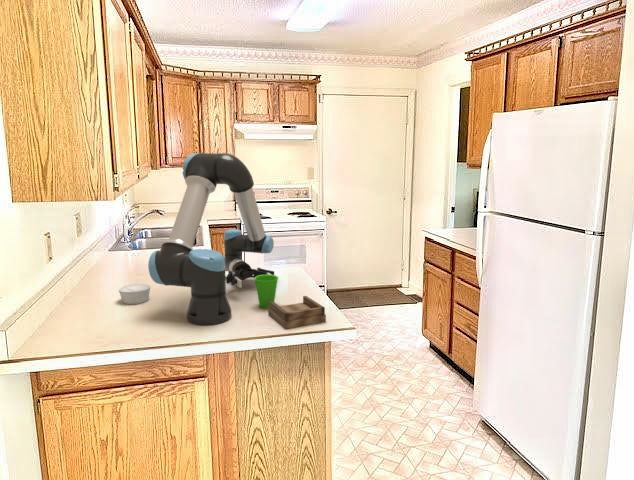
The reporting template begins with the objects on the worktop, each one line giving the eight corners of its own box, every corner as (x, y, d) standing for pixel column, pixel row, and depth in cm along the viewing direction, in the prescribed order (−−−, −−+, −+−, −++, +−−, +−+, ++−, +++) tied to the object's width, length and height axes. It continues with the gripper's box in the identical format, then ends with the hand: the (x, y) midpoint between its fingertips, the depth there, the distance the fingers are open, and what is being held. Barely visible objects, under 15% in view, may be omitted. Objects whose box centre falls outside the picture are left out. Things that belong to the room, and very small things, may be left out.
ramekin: (113, 304, 175) (112, 291, 174) (129, 295, 186) (128, 282, 185) (141, 306, 174) (141, 292, 173) (156, 297, 184) (155, 284, 183)
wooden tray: (285, 329, 152) (285, 314, 151) (268, 314, 165) (268, 301, 164) (325, 321, 159) (325, 307, 158) (306, 308, 172) (306, 295, 171)
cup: (274, 310, 169) (274, 281, 167) (251, 309, 171) (250, 280, 169) (281, 303, 178) (281, 275, 176) (258, 301, 180) (258, 273, 177)
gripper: (267, 274, 206) (287, 287, 188) (211, 281, 195) (226, 295, 177) (267, 258, 205) (286, 269, 187) (211, 264, 194) (225, 276, 175)
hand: (257, 282), depth 182 cm, fingers open, 13 cm apart
